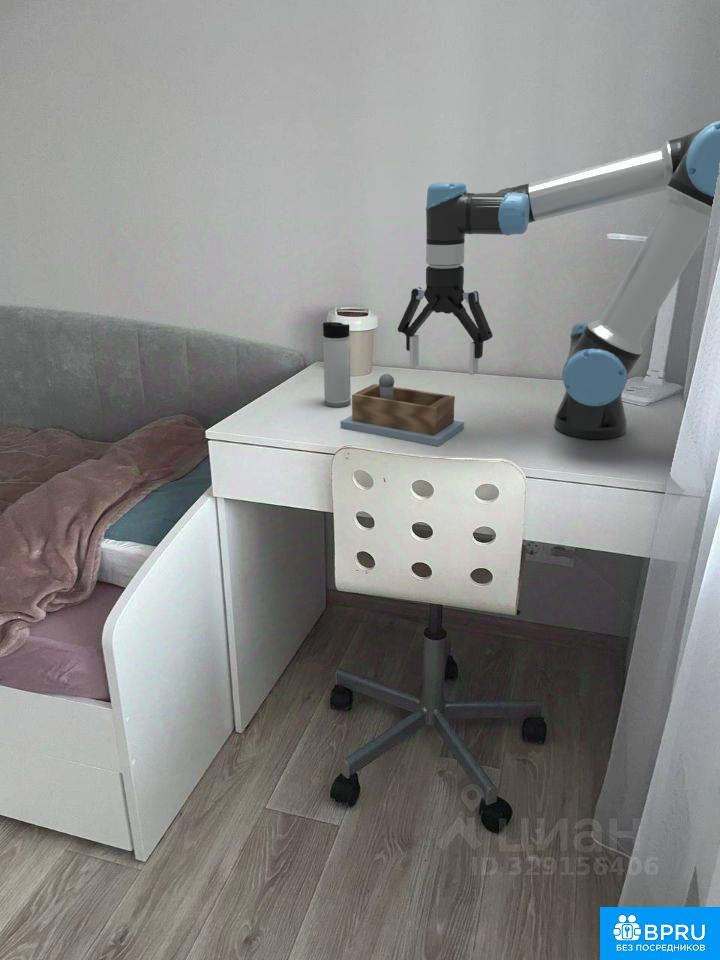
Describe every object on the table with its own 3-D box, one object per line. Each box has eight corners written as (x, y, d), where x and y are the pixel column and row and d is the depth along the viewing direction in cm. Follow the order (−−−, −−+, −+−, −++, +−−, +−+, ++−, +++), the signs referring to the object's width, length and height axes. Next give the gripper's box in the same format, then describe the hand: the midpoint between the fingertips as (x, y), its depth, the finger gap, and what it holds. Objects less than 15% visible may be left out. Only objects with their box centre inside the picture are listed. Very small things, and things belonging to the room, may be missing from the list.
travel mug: (318, 404, 192) (316, 321, 184) (338, 398, 197) (336, 317, 189) (336, 409, 188) (334, 325, 180) (356, 403, 192) (355, 321, 185)
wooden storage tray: (453, 422, 174) (454, 396, 172) (433, 435, 166) (434, 408, 164) (374, 408, 184) (374, 383, 181) (352, 420, 176) (352, 394, 174)
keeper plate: (464, 428, 175) (466, 376, 171) (438, 446, 165) (440, 392, 160) (369, 411, 186) (369, 363, 182) (340, 427, 176) (339, 376, 172)
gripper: (511, 265, 154) (506, 372, 163) (398, 260, 166) (399, 359, 175) (497, 271, 149) (492, 381, 157) (380, 264, 160) (382, 367, 169)
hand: (443, 369), depth 166 cm, fingers open, 13 cm apart
